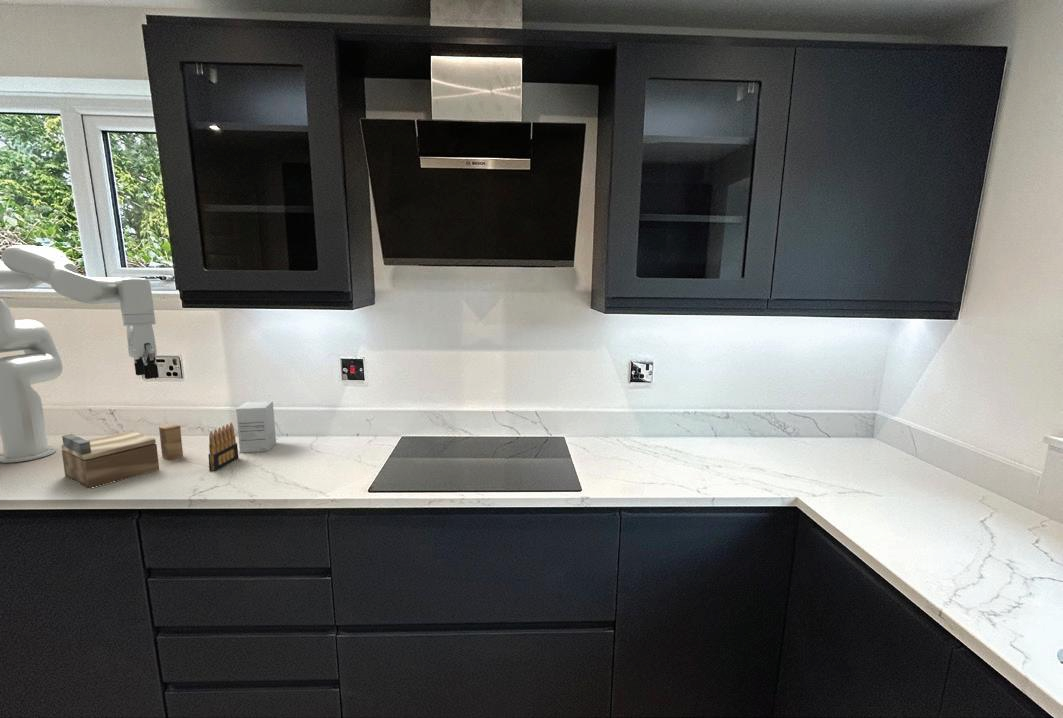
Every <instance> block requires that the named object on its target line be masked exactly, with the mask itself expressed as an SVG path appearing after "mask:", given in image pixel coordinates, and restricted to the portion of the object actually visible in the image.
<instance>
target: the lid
mask: <svg viewBox="0 0 1063 718" xmlns="http://www.w3.org/2000/svg"><path fill="white" fill-rule="evenodd" d="M61 438H62V445H61V446H60V447H61V451H62V450H64V451H66V452H68V453H70V454H73V455H75V456H77V457H79V458H81V459H83V460H87V459H91V458H96V457H100V456H104V455H108V454H112V453H116V452H121V451H125V450H129V449H133V448H137V447H142V446H146V445H150V444H157V441H156V438H154V437H150V436H148V435H144V434H143V433H139V432H136V431H134V430H128V431H123V432H118V433H114V434H109V435H103V436H99V437H94V438H90V439H84V438H82V437H80V436H78V435H75V434H73V433H72V434H66V435H62V437H61Z"/></svg>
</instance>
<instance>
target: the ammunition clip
mask: <svg viewBox="0 0 1063 718" xmlns="http://www.w3.org/2000/svg"><path fill="white" fill-rule="evenodd" d="M208 437H209V443H208V449H209V451H208V452H209V454H208V468H209V472H217V471H219V470H221V469H224V467H226V466H228V465H230V464H232V463H233V462H235V461H237V460H239V449H238V443H237V442H236V435H235V429H234V425H233V423H232V422H230V423H229V424H228V423H227V424H226V425H225V426H224V425H223V426H222V428H221V427H218V429H214V432H213V431H211V430H210V432H209V436H208Z"/></svg>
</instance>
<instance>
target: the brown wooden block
mask: <svg viewBox="0 0 1063 718" xmlns="http://www.w3.org/2000/svg"><path fill="white" fill-rule="evenodd" d="M158 430H159V439H160V447H161V449H160V450H161V457H162V458H163V459H165V460H167V461H171V460H174V459H178V458H182V457H184V451H183V442H182V441H183V440H182V430H181V425H179V424H175V423H171V424H167V425H163V426H159V427H158Z"/></svg>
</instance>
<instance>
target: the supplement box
mask: <svg viewBox="0 0 1063 718" xmlns="http://www.w3.org/2000/svg"><path fill="white" fill-rule="evenodd" d="M235 411H236V412H235V413H236V422H237V435H238V445H239V453H240V454H241V453H244V454H245V453H257V452H269V451H271V449H272V448H273V446H274V445H276V443H277V438H276V437H277V436H276V425H275V422H276V421H275V413H274V412H275V411H274V401H273V400H271V401H270V400H269V401H247V402H246V401H245V402H244V403H243V404H241V405H240V406H238V407H237V408H236V409H235Z"/></svg>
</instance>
